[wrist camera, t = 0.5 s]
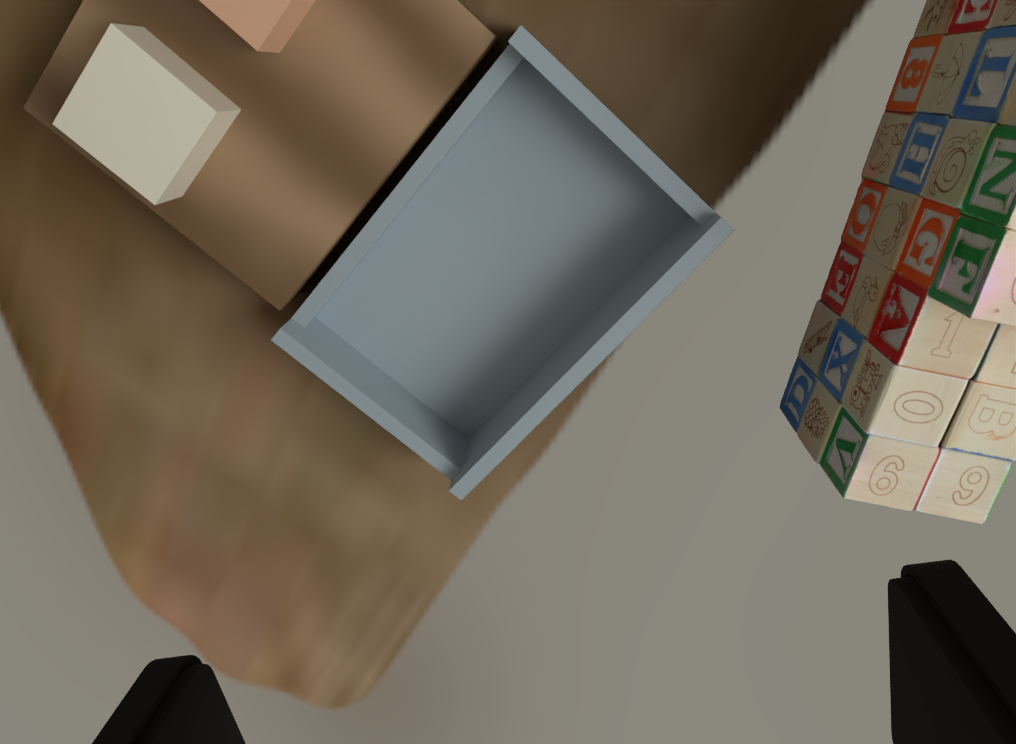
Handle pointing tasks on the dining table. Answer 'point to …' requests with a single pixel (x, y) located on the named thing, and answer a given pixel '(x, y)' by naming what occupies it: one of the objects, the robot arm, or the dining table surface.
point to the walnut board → (290, 119)
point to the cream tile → (145, 113)
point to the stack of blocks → (925, 285)
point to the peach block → (261, 20)
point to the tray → (501, 268)
